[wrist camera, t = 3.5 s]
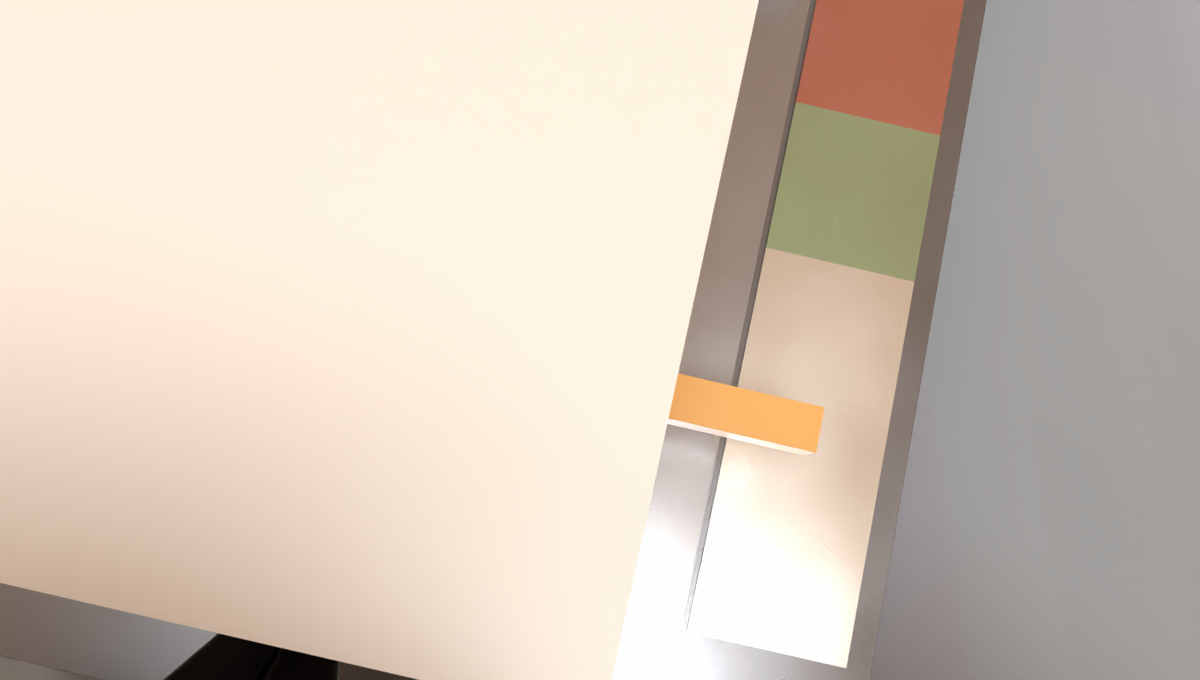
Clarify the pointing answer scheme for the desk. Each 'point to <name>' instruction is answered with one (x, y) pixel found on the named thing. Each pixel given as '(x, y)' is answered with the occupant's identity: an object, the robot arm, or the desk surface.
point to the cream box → (360, 314)
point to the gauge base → (751, 367)
